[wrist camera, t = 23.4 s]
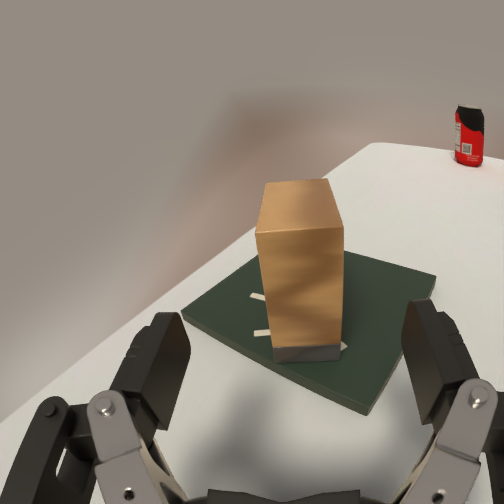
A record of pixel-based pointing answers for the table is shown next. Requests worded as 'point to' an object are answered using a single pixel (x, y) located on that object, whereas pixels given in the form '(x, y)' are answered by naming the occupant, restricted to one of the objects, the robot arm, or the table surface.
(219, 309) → the slate board
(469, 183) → the table surface
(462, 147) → the beverage can
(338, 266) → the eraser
